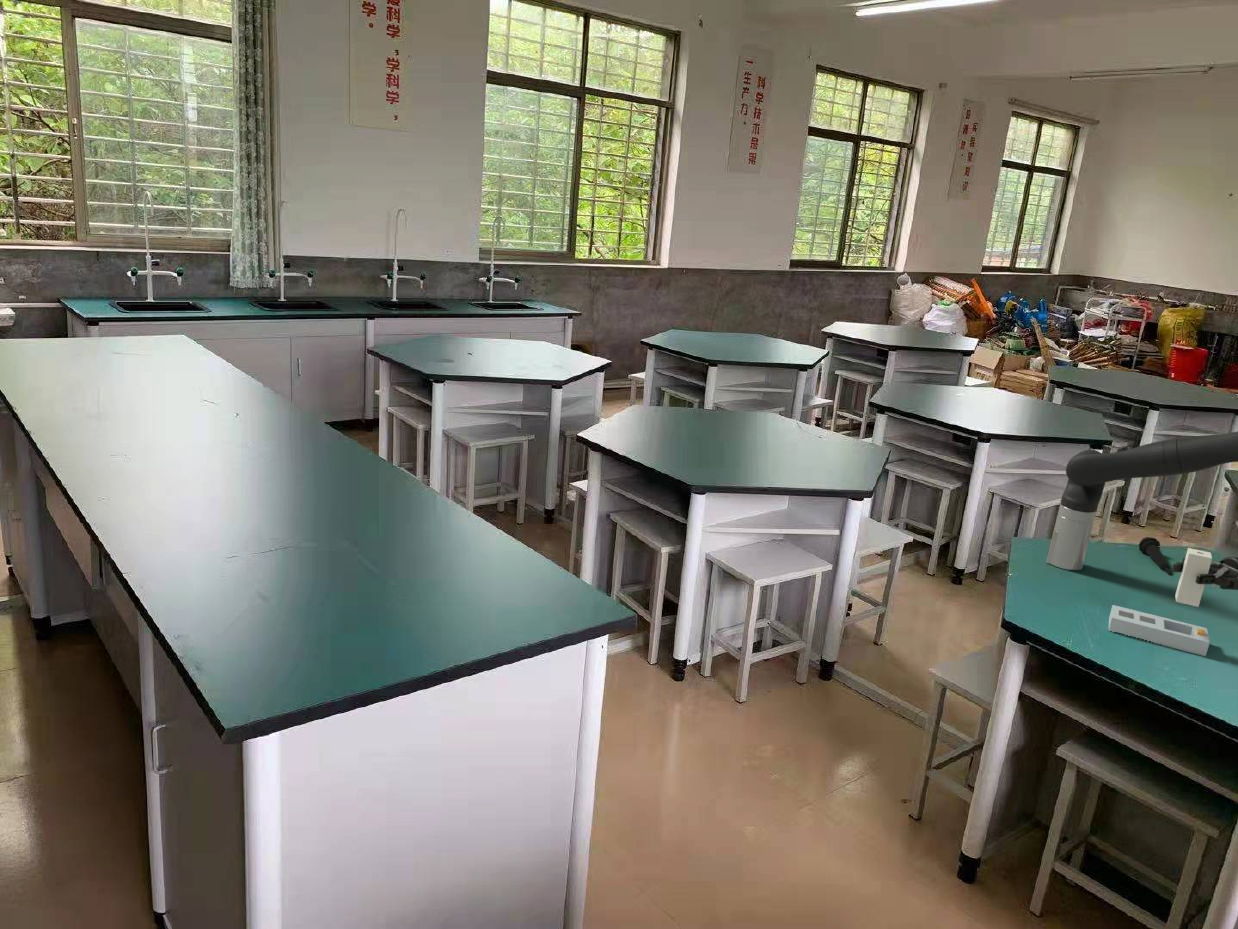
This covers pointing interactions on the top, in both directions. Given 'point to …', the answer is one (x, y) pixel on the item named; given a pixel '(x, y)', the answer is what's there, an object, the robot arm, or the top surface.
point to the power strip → (1159, 630)
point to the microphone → (1154, 552)
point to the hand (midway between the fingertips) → (1185, 573)
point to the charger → (1192, 577)
